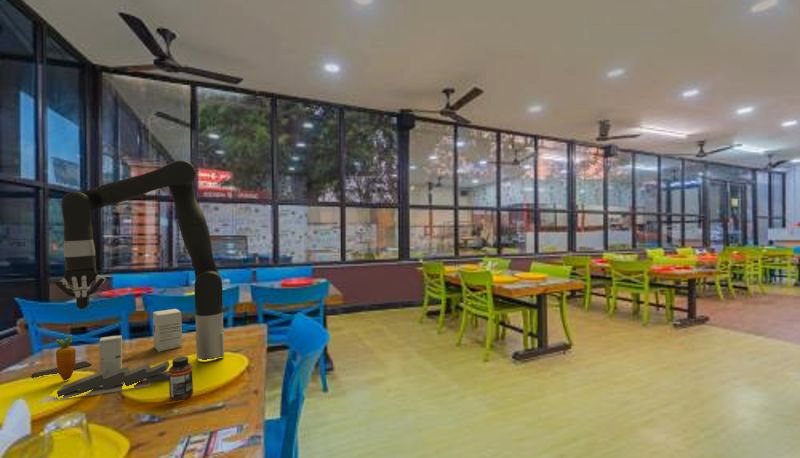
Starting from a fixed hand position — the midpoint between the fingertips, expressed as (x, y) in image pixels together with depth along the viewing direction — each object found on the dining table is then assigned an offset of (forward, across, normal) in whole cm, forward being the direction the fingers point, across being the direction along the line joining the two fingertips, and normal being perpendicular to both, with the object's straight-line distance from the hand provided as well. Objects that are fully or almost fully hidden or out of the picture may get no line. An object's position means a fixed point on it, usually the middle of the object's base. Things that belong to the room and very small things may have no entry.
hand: (83, 308), depth 120 cm
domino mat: (+25, +6, -7) cm, 26 cm away
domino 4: (+24, +18, -7) cm, 31 cm away
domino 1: (+23, +1, -7) cm, 24 cm away
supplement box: (+25, +17, +33) cm, 45 cm away
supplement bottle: (+26, +29, -24) cm, 46 cm away
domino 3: (+24, +12, -7) cm, 28 cm away
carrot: (+24, -7, +5) cm, 26 cm away
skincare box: (+25, +4, +9) cm, 27 cm away
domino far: (+23, -4, -7) cm, 25 cm away
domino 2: (+24, +7, -7) cm, 25 cm away
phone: (+25, -13, +19) cm, 34 cm away
